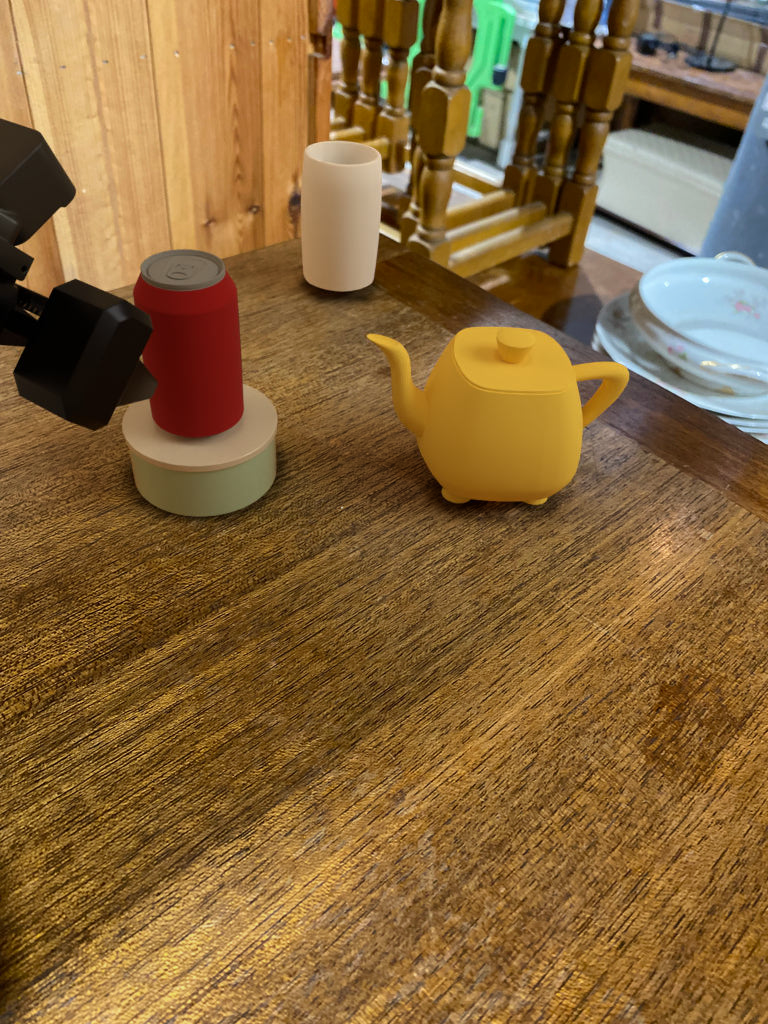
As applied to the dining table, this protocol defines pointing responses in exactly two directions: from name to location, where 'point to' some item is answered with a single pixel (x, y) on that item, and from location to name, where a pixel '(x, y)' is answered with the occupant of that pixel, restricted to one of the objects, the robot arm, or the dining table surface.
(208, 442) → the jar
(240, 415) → the beverage can
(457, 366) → the teapot
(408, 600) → the dining table surface
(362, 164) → the cup
